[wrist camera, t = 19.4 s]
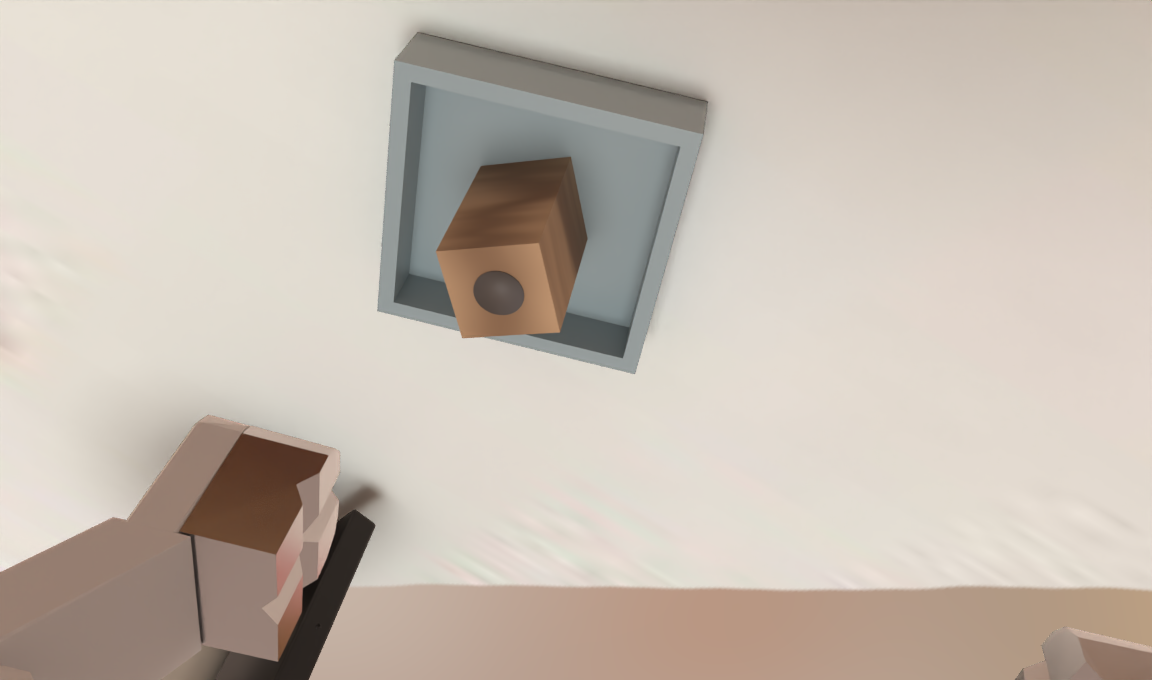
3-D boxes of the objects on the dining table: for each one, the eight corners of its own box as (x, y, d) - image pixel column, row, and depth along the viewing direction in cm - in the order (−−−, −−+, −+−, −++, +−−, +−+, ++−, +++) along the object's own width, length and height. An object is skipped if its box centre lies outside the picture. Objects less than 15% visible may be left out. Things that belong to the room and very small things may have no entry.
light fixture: (253, 389, 60) (1, 766, 40) (391, 492, 63) (221, 885, 44) (161, 475, 66) (-96, 838, 47) (291, 565, 70) (103, 937, 50)
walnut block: (571, 156, 46) (538, 244, 40) (587, 238, 49) (559, 333, 42) (480, 165, 47) (435, 252, 41) (501, 245, 50) (461, 339, 43)
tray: (707, 101, 44) (703, 134, 42) (642, 334, 53) (634, 374, 50) (417, 32, 45) (394, 60, 42) (398, 274, 53) (377, 310, 50)
